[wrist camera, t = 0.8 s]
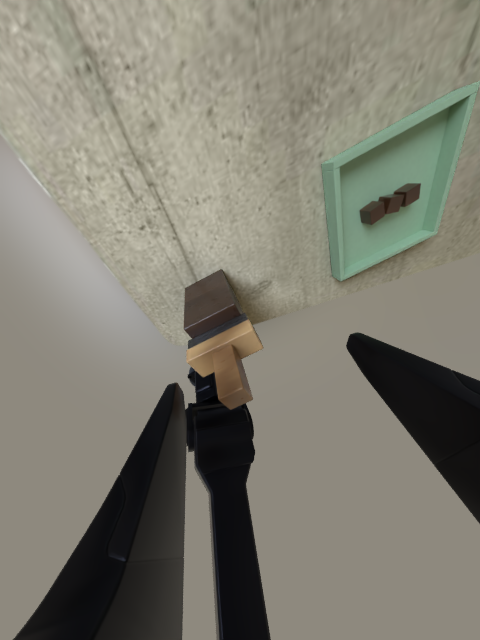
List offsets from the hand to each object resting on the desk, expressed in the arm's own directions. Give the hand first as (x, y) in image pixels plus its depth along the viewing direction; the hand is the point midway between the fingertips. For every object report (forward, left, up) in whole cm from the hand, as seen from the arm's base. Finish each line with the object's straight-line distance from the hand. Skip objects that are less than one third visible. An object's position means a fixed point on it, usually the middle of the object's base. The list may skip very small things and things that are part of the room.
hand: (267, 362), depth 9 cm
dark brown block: (-3, +3, -15) cm, 16 cm away
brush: (-3, +3, -7) cm, 9 cm away
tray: (-3, -19, -15) cm, 25 cm away
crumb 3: (-3, -21, -15) cm, 26 cm away
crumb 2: (-3, -19, -15) cm, 25 cm away
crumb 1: (-3, -17, -15) cm, 23 cm away
